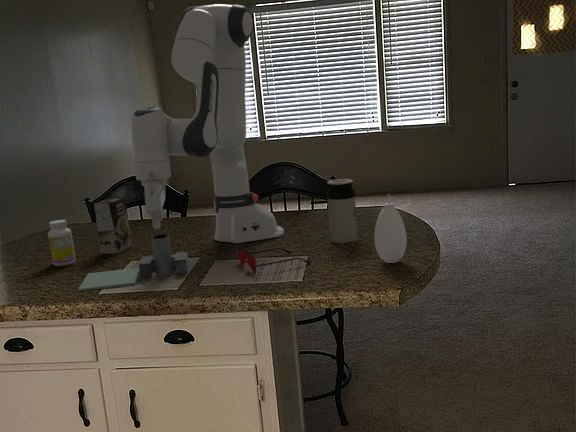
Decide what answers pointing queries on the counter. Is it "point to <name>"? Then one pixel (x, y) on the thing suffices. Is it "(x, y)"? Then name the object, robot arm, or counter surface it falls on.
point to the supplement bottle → (61, 243)
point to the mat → (110, 279)
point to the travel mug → (342, 211)
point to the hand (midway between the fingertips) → (158, 224)
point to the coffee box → (113, 225)
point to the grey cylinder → (162, 255)
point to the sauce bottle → (390, 234)
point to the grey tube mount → (177, 261)
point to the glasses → (252, 261)
